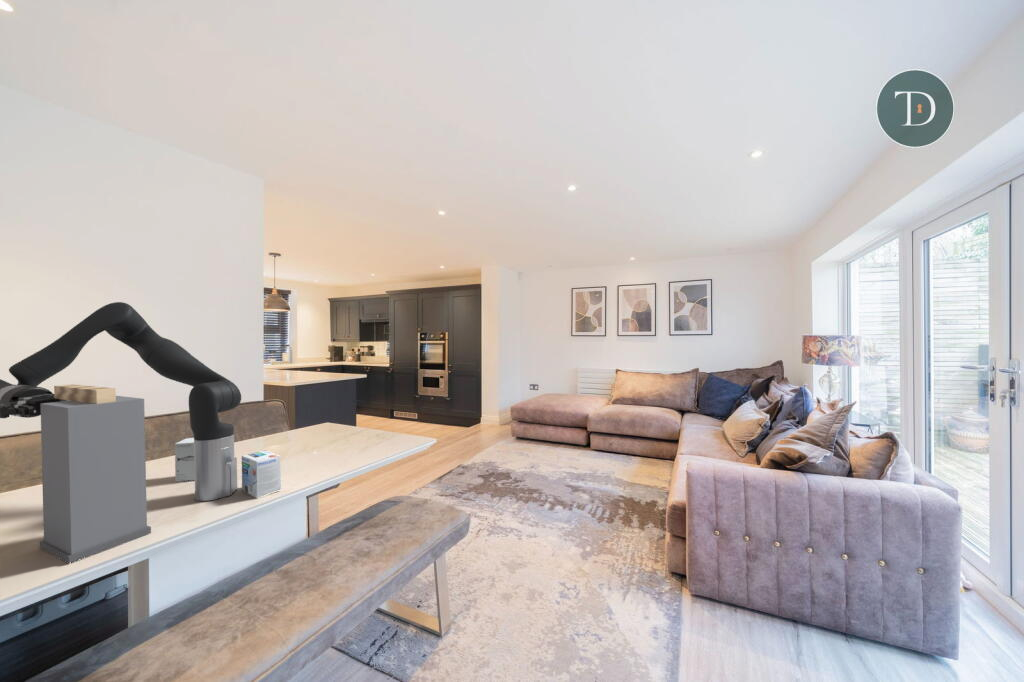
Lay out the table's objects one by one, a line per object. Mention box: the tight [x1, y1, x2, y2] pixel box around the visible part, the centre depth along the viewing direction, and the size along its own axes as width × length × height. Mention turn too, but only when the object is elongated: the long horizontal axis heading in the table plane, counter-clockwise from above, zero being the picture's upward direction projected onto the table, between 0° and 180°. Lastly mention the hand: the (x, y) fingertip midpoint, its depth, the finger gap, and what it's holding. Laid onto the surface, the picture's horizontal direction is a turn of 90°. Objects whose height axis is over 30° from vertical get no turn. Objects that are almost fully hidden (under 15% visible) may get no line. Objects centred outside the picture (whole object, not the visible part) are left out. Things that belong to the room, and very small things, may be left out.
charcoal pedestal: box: [39, 395, 152, 564], centre depth 85 cm, size 15×13×32 cm
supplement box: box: [174, 437, 195, 483], centre depth 124 cm, size 7×7×13 cm
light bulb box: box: [241, 450, 282, 499], centre depth 112 cm, size 11×7×11 cm, turn 56°
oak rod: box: [53, 383, 117, 404], centre depth 87 cm, size 22×3×3 cm, turn 66°
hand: (59, 406), depth 87 cm, fingers open, 8 cm apart
